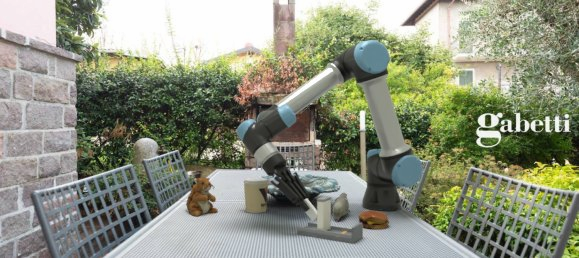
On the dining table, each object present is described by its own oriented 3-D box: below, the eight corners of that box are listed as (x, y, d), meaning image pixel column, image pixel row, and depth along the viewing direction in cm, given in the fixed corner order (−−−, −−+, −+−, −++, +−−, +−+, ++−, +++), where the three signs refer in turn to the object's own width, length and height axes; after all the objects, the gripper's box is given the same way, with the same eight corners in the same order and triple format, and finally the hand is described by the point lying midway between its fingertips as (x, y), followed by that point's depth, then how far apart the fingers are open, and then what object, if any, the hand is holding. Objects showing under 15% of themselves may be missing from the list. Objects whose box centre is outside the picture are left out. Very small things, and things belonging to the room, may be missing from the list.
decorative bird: (328, 221, 145) (329, 199, 145) (336, 211, 160) (336, 192, 160) (344, 222, 143) (344, 200, 143) (351, 212, 159) (351, 193, 158)
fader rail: (297, 234, 128) (297, 219, 128) (308, 229, 134) (308, 215, 134) (353, 243, 119) (353, 227, 119) (362, 237, 125) (362, 222, 125)
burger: (381, 222, 144) (381, 208, 144) (393, 229, 135) (393, 214, 135) (353, 223, 142) (354, 209, 142) (364, 230, 133) (364, 216, 133)
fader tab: (316, 231, 126) (316, 198, 125) (324, 227, 130) (324, 196, 130) (323, 232, 125) (323, 199, 124) (330, 228, 129) (331, 196, 129)
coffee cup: (264, 214, 155) (264, 181, 155) (240, 212, 157) (240, 180, 156) (271, 208, 164) (271, 177, 164) (247, 207, 166) (247, 177, 166)
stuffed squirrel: (196, 217, 150) (196, 180, 149) (178, 210, 160) (178, 176, 160) (221, 213, 156) (221, 177, 156) (201, 207, 167) (201, 173, 166)
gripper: (275, 165, 143) (318, 221, 135) (252, 169, 132) (298, 230, 124) (288, 150, 140) (333, 206, 132) (266, 153, 129) (314, 214, 121)
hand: (316, 218), depth 128 cm, fingers closed
